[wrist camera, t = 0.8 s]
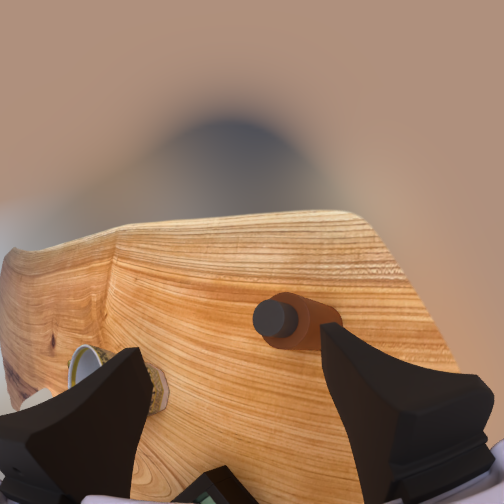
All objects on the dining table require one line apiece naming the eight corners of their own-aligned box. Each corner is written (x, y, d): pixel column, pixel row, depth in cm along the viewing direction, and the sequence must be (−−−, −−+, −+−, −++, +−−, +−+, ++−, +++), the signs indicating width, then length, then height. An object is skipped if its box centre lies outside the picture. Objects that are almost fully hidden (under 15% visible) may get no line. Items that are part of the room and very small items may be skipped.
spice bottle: (352, 327, 26) (308, 318, 19) (319, 359, 26) (264, 361, 19) (323, 295, 28) (271, 274, 21) (293, 326, 29) (232, 316, 22)
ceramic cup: (186, 368, 35) (112, 365, 27) (169, 440, 33) (99, 448, 25) (128, 334, 43) (66, 324, 35) (115, 395, 41) (56, 393, 33)
